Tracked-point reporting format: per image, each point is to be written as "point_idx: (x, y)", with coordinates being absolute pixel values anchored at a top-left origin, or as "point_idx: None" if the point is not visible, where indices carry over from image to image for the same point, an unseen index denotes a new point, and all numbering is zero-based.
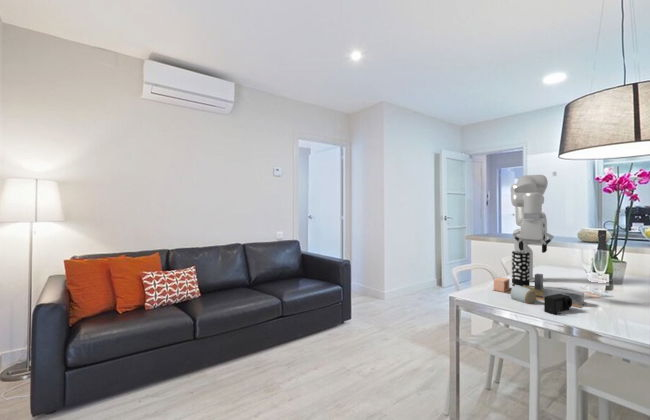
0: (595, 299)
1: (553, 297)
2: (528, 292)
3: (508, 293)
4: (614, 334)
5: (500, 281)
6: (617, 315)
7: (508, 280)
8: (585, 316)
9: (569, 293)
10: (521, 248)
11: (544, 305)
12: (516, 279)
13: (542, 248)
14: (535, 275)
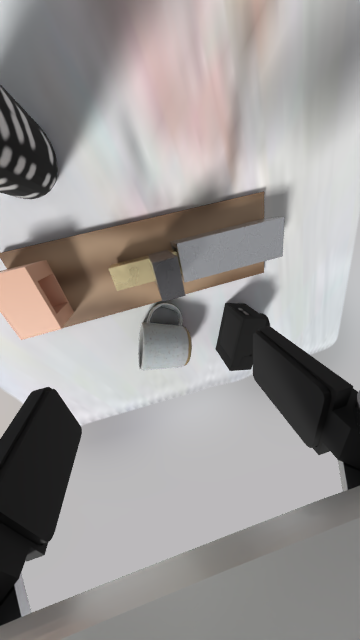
0: (269, 65)
1: (246, 362)
2: (186, 363)
3: (96, 316)
4: (310, 348)
5: (49, 331)
6: (318, 234)
7: (35, 278)
8: (272, 305)
9: (252, 263)
10: (74, 445)
11: (221, 357)
12: (3, 191)
13: (282, 408)
14: (165, 299)
